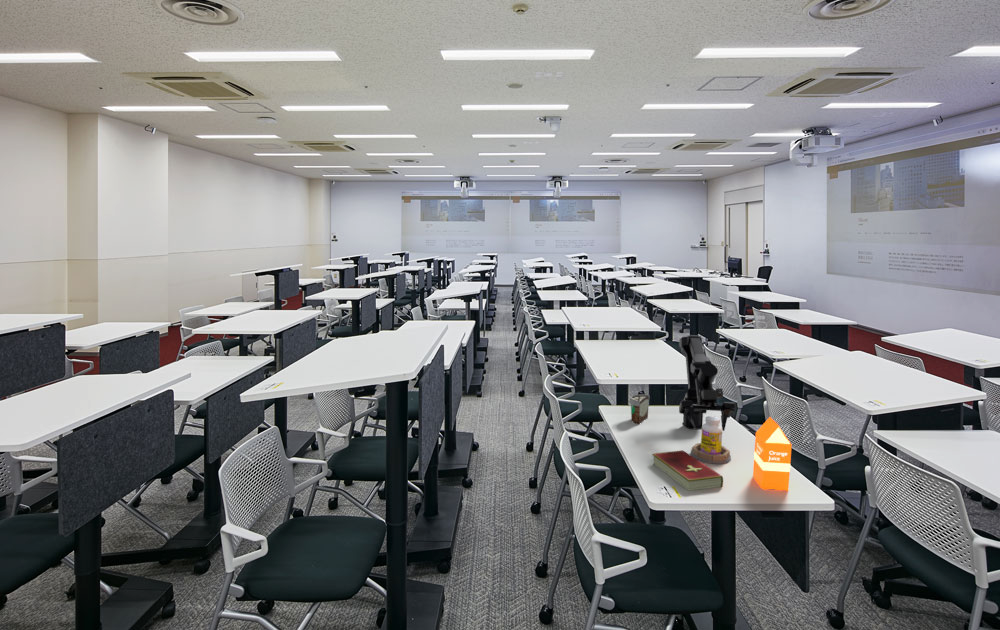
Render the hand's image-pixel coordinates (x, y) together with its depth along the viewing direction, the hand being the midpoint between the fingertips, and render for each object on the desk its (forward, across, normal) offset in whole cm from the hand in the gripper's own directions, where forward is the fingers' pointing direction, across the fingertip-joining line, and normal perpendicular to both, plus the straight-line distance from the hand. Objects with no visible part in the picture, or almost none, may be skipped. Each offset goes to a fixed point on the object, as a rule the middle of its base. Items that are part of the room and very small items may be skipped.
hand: (709, 429), depth 187 cm
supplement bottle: (+8, 0, +4) cm, 8 cm away
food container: (-17, -22, +30) cm, 40 cm away
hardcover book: (+20, -11, -7) cm, 24 cm away
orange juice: (+22, +13, -10) cm, 27 cm away
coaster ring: (+8, 0, +4) cm, 9 cm away
